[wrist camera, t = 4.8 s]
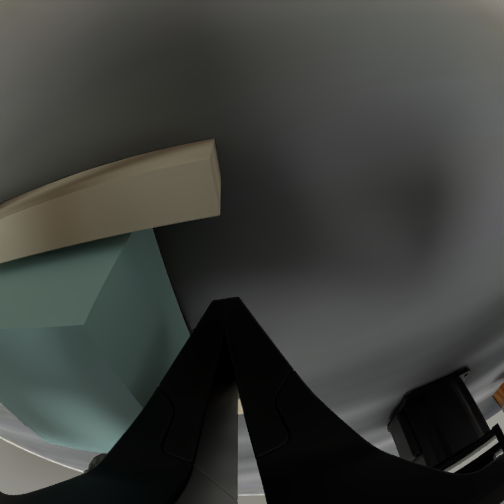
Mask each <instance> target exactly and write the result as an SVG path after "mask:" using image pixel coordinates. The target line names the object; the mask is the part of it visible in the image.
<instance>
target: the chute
mask: <svg viewBox="0 0 504 504" xmlns="http://www.w3.org/2000/svg"><path fill="white" fill-rule="evenodd" d="M220 197H221V174H220V168H219V163H218V157H217V151H216V146H215V140H214V139H208V140H203V141H198V142H193V143H188V144H183V145H179V146H174V147H170V148H165V149H161V150H157V151H153V152H149V153H145V154H141V155H137V156H133V157H130V158H126V159H122V160H119V161H115V162H112V163H109V164H105V165H102V166H99V167H96V168H92V169H89V170H86V171H83V172H80V173H77V174H74V175H71V176H69V177H66V178H63V179H60V180H57V181H55V182H52V183H49V184H47V185H44V186H42V187H39V188H37V189H34V190H32V191H29V192H27V193H24V194H22V195H20V196H17V197H15V198H13V199H11V200H8V201H6V202H4V203H2V204H0V263H3V262H7V261H11V260H15V259H18V258H22V257H26V256H30V255H34V254H38V253H42V252H46V251H50V250H54V249H58V248H62V247H66V246H71V245H75V244H79V243H84V242H88V241H93V240H97V239H102V238H106V237H111V236H115V235H120V234H125V233H130V232H134V231H139V230H144V229H149V228H154V227H159V226H165V225H170V224H175V223H180V222H186V221H191V220H197V219H202V218H208V217H213V216H219V215H220ZM238 414H244V413H243V409H242V405H241V401H240V397H239V393H238Z"/></svg>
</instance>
